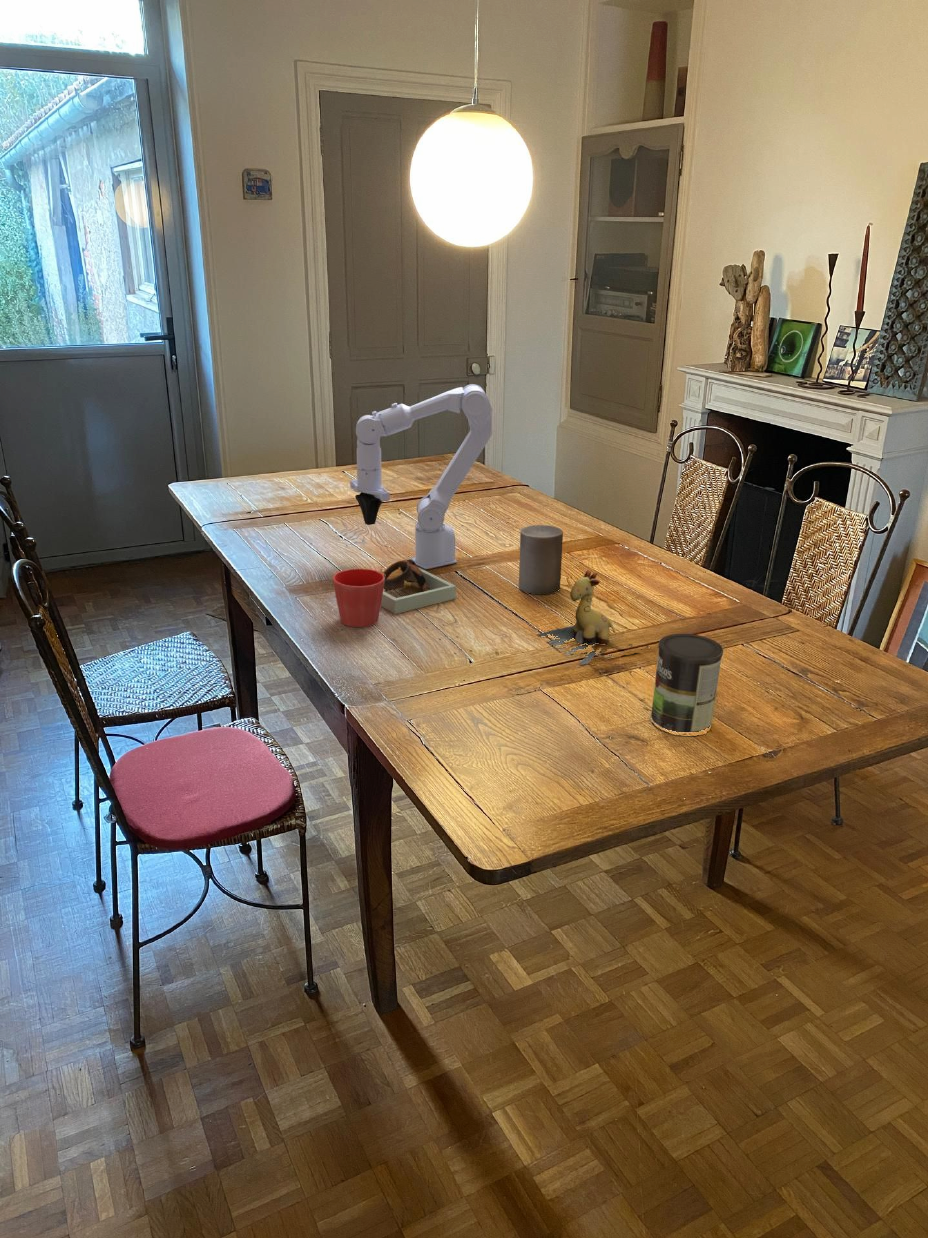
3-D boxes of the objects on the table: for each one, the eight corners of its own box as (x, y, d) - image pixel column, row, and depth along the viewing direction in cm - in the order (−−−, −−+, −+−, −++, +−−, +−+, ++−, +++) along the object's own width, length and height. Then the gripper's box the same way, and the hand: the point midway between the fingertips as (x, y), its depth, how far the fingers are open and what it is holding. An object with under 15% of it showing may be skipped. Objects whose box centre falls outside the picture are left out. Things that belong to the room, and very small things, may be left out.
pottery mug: (430, 602, 208) (412, 574, 204) (392, 616, 211) (374, 588, 206) (434, 571, 217) (417, 543, 213) (398, 585, 220) (381, 558, 216)
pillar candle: (566, 584, 218) (569, 522, 213) (551, 598, 210) (555, 533, 204) (527, 578, 222) (529, 517, 216) (511, 591, 214) (513, 527, 208)
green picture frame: (413, 576, 221) (413, 564, 220) (455, 598, 209) (455, 585, 207) (354, 590, 212) (353, 577, 211) (394, 613, 200) (394, 600, 199)
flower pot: (393, 614, 199) (393, 571, 195) (372, 634, 190) (371, 589, 186) (348, 607, 202) (347, 565, 199) (325, 626, 193) (323, 581, 189)
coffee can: (659, 738, 153) (668, 659, 148) (643, 708, 163) (651, 633, 157) (721, 736, 154) (732, 658, 148) (701, 707, 163) (711, 632, 158)
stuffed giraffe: (535, 635, 191) (544, 561, 185) (609, 624, 199) (619, 553, 192) (578, 669, 178) (589, 591, 172) (655, 656, 186) (667, 581, 179)
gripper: (338, 463, 223) (340, 519, 229) (371, 476, 213) (372, 534, 218) (364, 460, 227) (365, 514, 233) (397, 472, 217) (397, 529, 222)
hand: (370, 523), depth 226 cm, fingers closed
